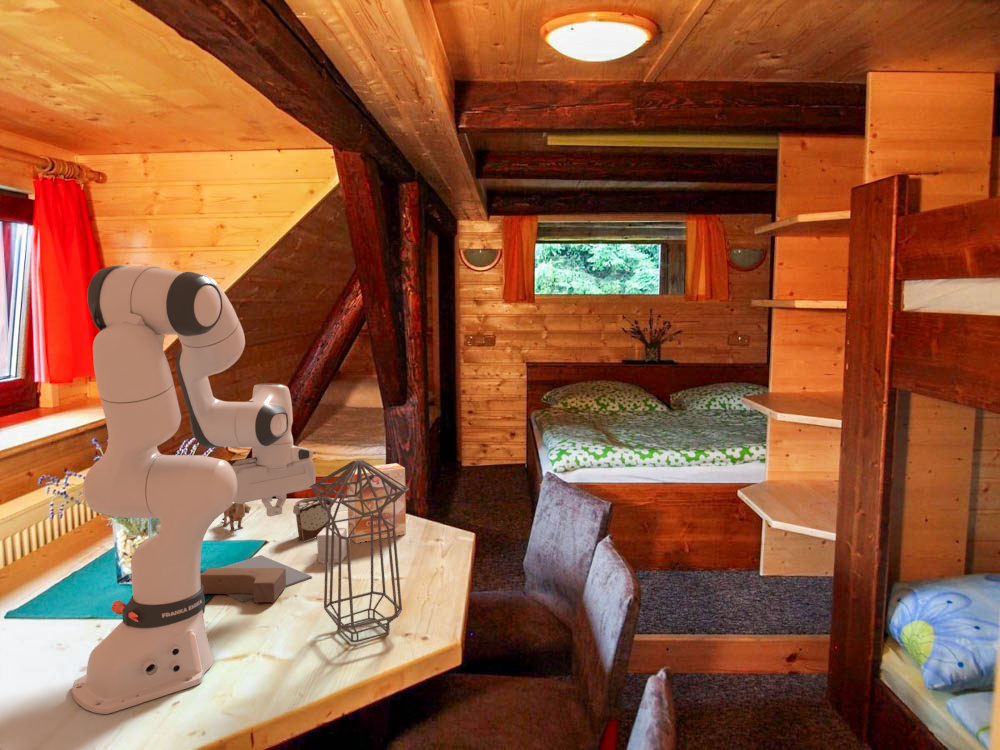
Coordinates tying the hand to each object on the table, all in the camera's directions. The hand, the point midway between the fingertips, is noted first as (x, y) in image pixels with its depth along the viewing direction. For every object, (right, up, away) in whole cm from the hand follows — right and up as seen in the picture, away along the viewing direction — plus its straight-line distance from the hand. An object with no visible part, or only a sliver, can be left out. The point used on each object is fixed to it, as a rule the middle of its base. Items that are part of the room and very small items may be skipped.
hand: (274, 515), depth 160 cm
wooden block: (+2, -15, -2) cm, 16 cm away
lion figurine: (-27, -13, +47) cm, 56 cm away
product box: (+8, -16, +22) cm, 28 cm away
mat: (-8, -17, +9) cm, 21 cm away
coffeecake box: (+17, -14, +39) cm, 45 cm away
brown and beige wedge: (-3, -14, +40) cm, 42 cm away
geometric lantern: (+23, -20, -18) cm, 36 cm away
